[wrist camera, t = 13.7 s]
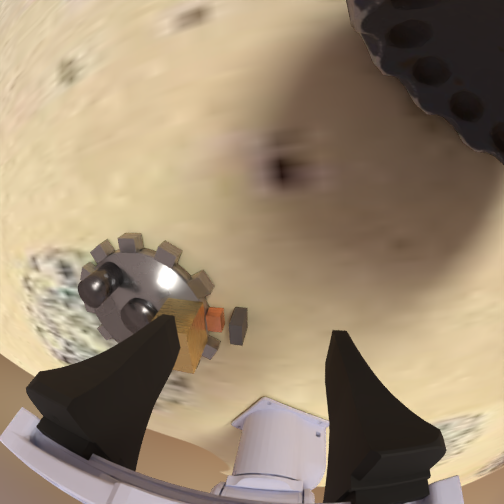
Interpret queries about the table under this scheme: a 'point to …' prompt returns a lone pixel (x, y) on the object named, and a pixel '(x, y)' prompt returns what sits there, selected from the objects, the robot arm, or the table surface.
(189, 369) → the link block
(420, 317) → the table surface
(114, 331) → the sprocket
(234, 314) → the block
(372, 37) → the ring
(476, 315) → the table surface
